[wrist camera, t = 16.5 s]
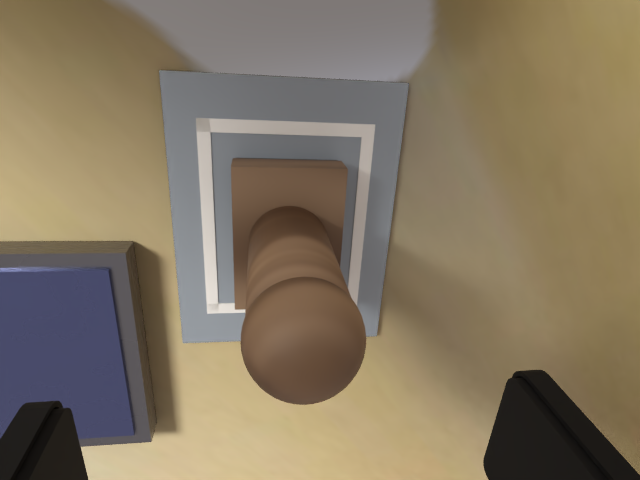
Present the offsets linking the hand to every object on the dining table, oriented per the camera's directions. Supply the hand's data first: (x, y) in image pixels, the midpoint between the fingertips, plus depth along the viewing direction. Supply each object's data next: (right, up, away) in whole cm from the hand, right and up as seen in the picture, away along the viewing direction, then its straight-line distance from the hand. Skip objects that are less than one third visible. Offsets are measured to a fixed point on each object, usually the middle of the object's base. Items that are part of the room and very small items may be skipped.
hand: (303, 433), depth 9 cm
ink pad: (-14, -1, +14) cm, 19 cm away
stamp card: (-1, +5, +13) cm, 14 cm away
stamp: (-1, +5, +12) cm, 13 cm away
